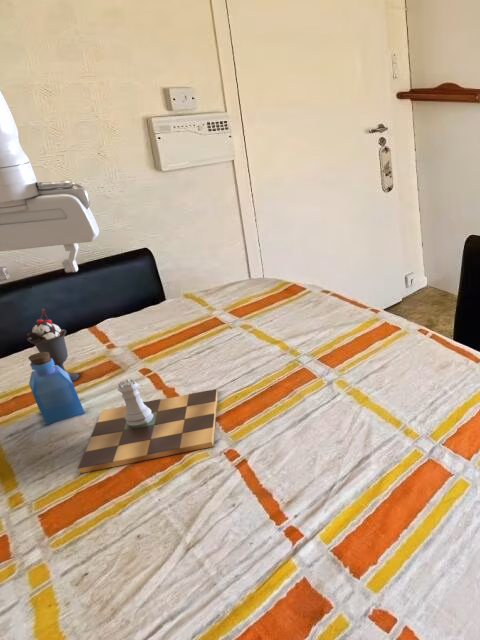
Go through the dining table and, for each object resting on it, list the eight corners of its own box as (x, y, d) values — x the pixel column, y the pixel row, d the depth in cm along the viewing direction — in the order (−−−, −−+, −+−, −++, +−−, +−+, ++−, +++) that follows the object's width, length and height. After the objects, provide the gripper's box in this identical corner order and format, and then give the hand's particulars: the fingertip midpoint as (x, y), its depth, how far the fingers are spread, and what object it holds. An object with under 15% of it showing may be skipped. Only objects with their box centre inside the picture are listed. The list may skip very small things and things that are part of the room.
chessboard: (80, 473, 101) (78, 468, 100) (103, 414, 117) (101, 409, 117) (213, 446, 107) (211, 441, 106) (217, 393, 123) (216, 389, 123)
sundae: (80, 368, 135) (54, 303, 128) (86, 379, 130) (59, 312, 123) (44, 378, 131) (15, 312, 124) (49, 389, 127) (19, 321, 120)
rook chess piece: (159, 418, 113) (146, 379, 110) (135, 430, 110) (121, 390, 106) (145, 412, 116) (131, 374, 112) (121, 423, 112) (106, 384, 108)
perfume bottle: (46, 424, 115) (19, 366, 109) (41, 411, 119) (16, 355, 113) (84, 412, 118) (61, 356, 112) (79, 400, 122) (56, 345, 117)
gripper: (86, 175, 98) (115, 261, 104) (-72, 188, 92) (-30, 278, 98) (77, 182, 93) (108, 272, 99) (-91, 196, 87) (-46, 290, 93)
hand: (38, 275), depth 99 cm, fingers open, 8 cm apart
